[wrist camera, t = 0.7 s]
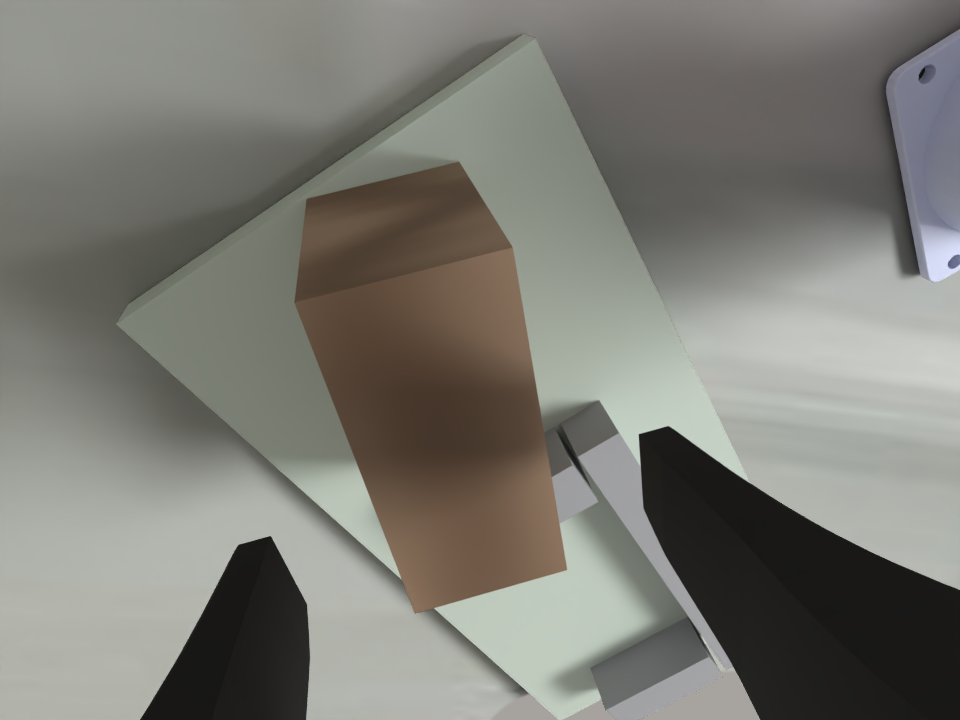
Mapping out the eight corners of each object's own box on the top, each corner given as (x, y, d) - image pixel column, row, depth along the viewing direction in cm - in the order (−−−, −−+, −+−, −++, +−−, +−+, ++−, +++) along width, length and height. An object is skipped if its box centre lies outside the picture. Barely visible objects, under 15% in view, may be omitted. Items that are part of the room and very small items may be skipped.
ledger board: (523, 33, 17) (560, 47, 14) (788, 573, 31) (831, 631, 28) (127, 304, 18) (92, 363, 16) (553, 697, 33) (572, 763, 30)
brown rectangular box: (459, 161, 17) (512, 247, 12) (513, 428, 22) (567, 569, 17) (305, 198, 16) (293, 303, 11) (395, 460, 21) (414, 613, 16)
